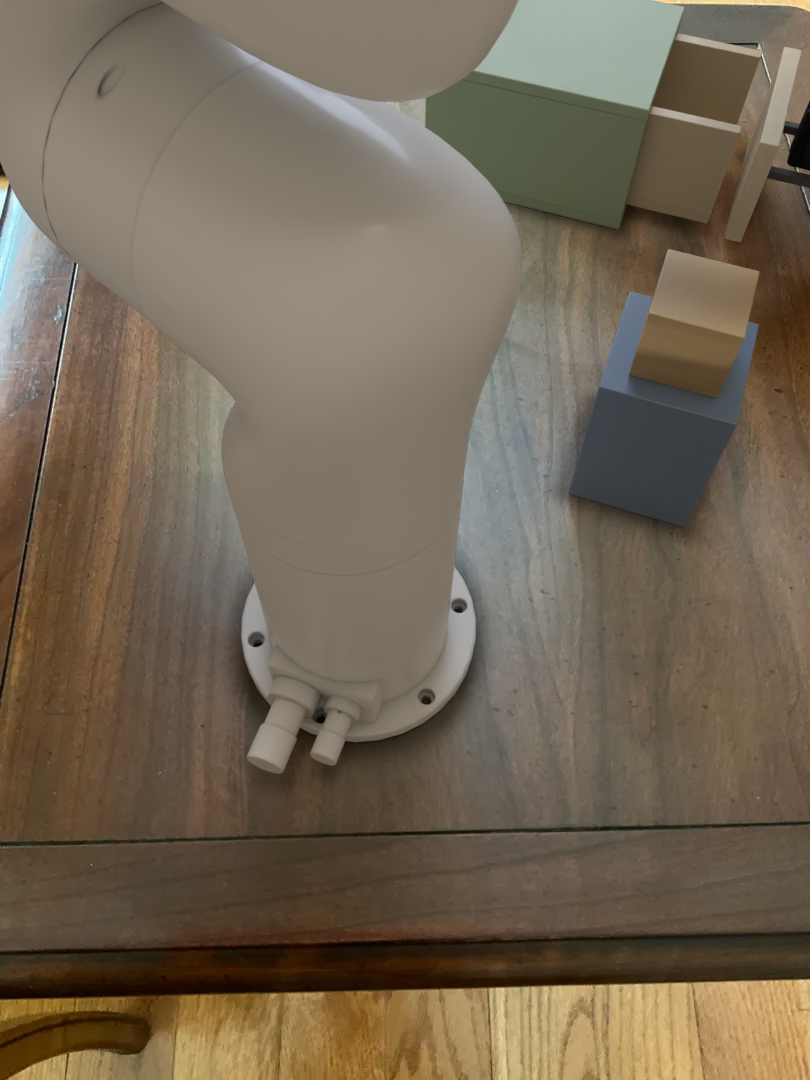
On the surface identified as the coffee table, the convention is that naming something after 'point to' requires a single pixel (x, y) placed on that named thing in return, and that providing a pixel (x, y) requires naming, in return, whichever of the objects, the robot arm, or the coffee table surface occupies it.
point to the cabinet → (562, 103)
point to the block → (695, 323)
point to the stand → (655, 431)
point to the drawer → (712, 132)
